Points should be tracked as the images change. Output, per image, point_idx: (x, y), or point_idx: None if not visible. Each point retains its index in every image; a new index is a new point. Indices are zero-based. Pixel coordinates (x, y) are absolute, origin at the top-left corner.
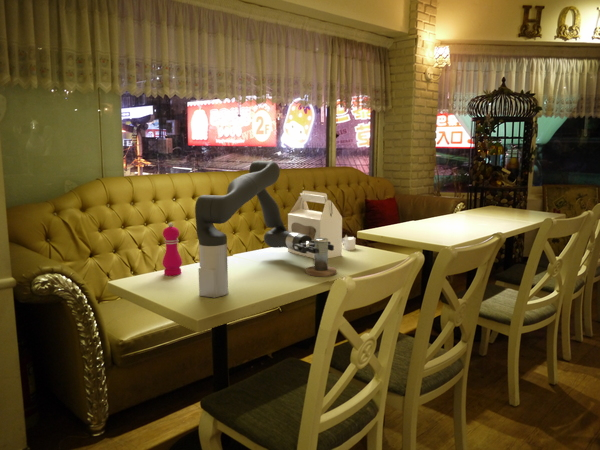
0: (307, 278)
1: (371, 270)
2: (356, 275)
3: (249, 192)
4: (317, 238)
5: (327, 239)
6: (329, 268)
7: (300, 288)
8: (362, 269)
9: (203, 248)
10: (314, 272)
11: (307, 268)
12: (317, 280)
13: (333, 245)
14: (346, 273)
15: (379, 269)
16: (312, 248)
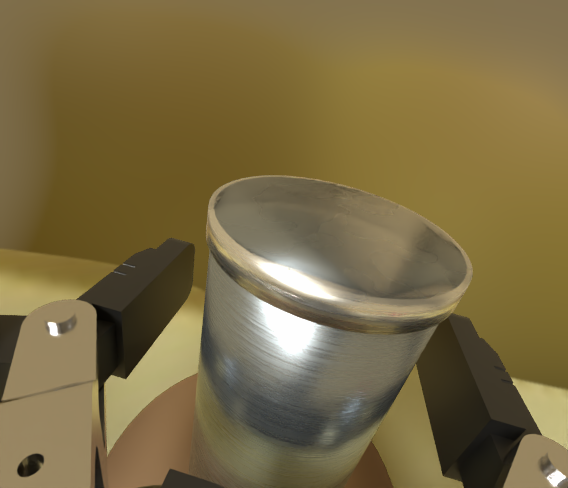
0: (453, 484)
1: (53, 271)
2: (190, 293)
3: None
4: (354, 269)
5: (286, 178)
6: (181, 441)
7: (558, 393)
8: (35, 305)
9: None
10: (373, 474)
11: None
12: (412, 399)
13: (173, 239)
14: (175, 339)
15: (18, 252)
16: (479, 364)
